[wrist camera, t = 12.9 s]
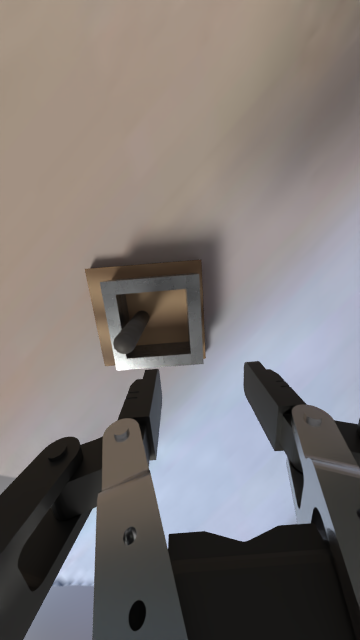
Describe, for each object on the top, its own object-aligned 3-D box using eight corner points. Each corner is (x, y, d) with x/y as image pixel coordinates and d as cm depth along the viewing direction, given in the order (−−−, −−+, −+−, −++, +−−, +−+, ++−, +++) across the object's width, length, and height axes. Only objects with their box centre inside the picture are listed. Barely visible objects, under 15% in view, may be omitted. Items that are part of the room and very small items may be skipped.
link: (111, 279, 25) (99, 282, 21) (195, 272, 25) (199, 274, 21) (125, 355, 28) (116, 370, 24) (199, 350, 28) (203, 363, 24)
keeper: (89, 268, 26) (23, 271, 15) (199, 259, 26) (217, 255, 14) (108, 361, 30) (67, 418, 18) (204, 353, 29) (220, 407, 18)
